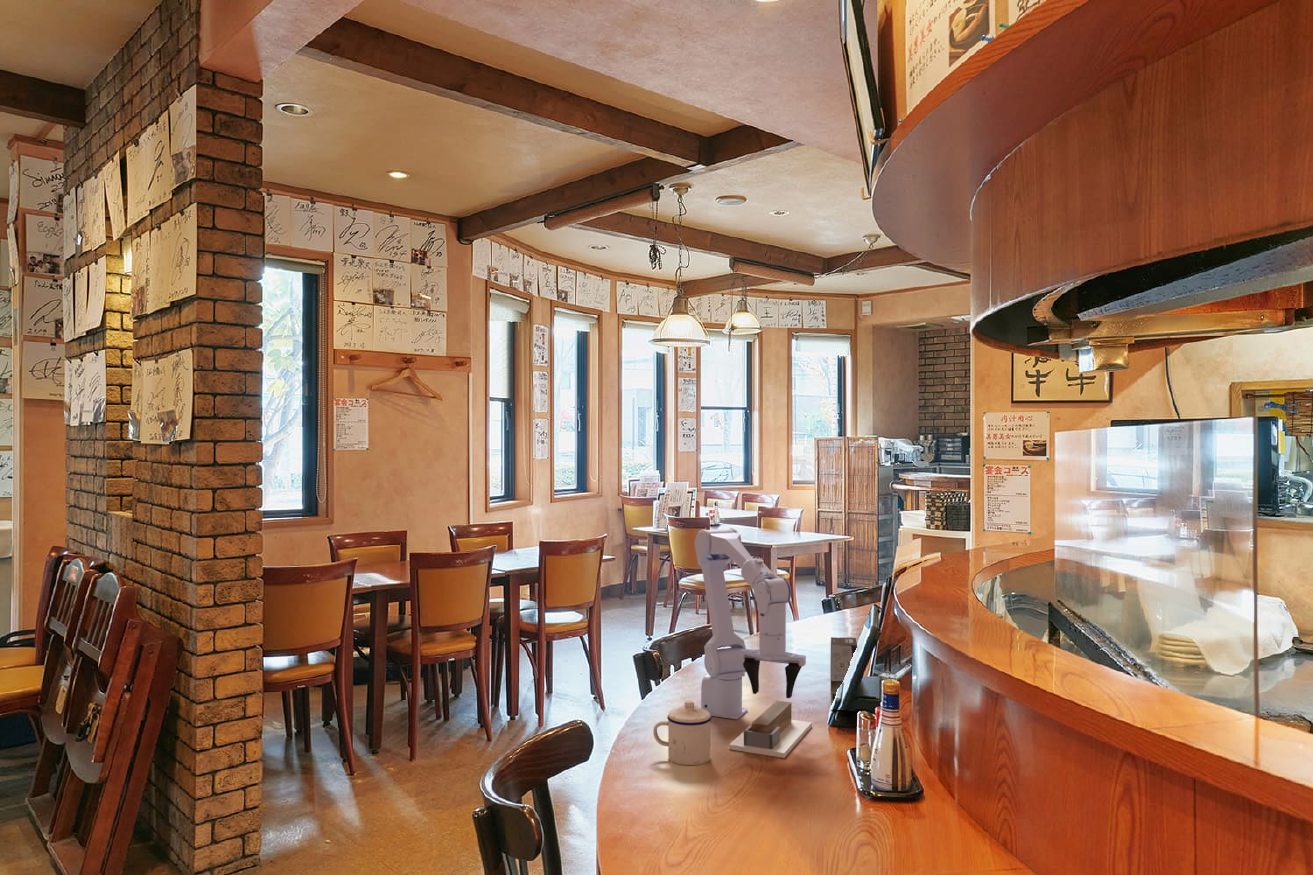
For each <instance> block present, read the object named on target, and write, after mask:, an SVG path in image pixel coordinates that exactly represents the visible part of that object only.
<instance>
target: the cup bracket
mask: <svg viewBox="0 0 1313 875" xmlns="http://www.w3.org/2000/svg"><path fill="white" fill-rule="evenodd" d="M812 728H813V722H812V721H811V722H810V721H804V720H798V719H791V723H790V724H789V725H788V726H787V727H786V728H785V729H784V730H783V731H782V732H781V733H780V727H777V728H776V729H775V730H774V731H773V732H772V733H771V734H768V733H761V732H754V731H752V723H751V724H750V725H748V727H746V728H745V729H744V730H743V731H742V733H740V734H739V735H738V736H737V737H736V738H735V739H734V740H732V741H731V742H730V743H729V744H728V745H729V747H728V749H729V750H733V751H739V752H745V753H750V754H751V753H752V754H757V755H763V756H771V757H776V758H781V759H783V758H784V759H785V758H786V756H787V755H788V754H789V753H790V752H791V751H792V750H793V749H794V748H795V746H797V744H798V743H799V742H800V741H801V740H802V739H803V738H804V736H805V735H806V734H807V731H808V732H809V731H810V730H811V729H812Z"/></svg>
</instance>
